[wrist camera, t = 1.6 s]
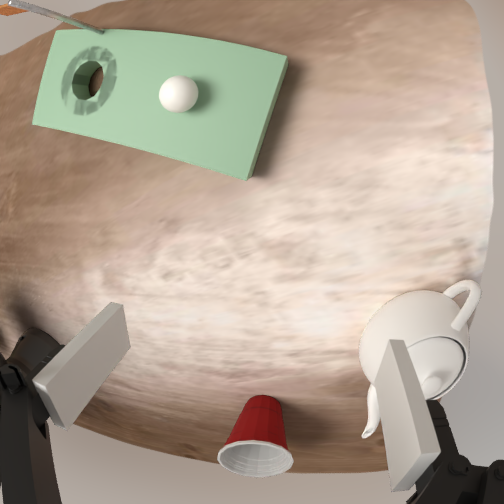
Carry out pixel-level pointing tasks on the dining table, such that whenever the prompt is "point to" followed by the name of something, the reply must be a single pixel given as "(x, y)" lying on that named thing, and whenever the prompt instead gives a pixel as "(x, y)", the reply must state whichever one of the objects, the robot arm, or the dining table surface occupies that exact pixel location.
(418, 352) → the teapot
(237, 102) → the putting board
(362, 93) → the dining table surface
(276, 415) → the plastic cup
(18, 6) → the flag
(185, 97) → the ball
